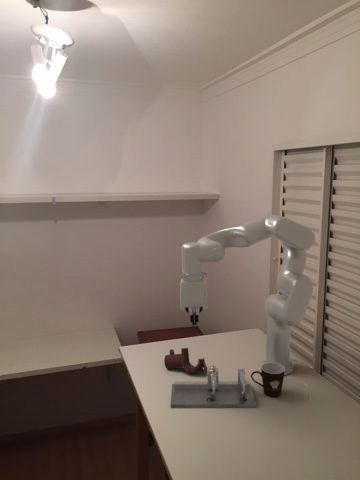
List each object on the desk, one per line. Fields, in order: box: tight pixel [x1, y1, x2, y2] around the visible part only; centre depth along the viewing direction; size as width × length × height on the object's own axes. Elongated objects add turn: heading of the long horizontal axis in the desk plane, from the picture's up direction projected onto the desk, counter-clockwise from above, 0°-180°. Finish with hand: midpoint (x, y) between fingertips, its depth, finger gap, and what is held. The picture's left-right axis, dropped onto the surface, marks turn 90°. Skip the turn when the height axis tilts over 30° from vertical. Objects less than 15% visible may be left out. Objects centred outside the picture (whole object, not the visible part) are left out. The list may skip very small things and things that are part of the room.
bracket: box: [163, 347, 208, 374], centre depth 174 cm, size 6×17×10 cm, turn 73°
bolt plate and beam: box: [170, 368, 257, 409], centre depth 154 cm, size 30×14×8 cm, turn 88°
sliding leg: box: [206, 365, 219, 399], centre depth 155 cm, size 4×10×8 cm, turn 179°
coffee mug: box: [250, 362, 285, 399], centre depth 157 cm, size 12×9×10 cm
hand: (194, 323), depth 158 cm, fingers closed
